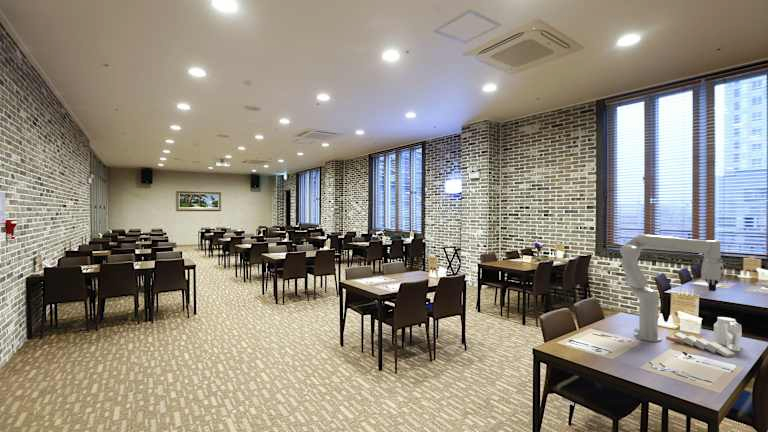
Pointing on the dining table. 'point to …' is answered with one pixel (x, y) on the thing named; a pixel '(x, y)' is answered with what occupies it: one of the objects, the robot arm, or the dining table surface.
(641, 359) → the dining table surface
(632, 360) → the dining table surface
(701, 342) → the domino
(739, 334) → the beer glass
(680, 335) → the domino
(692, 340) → the domino
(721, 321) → the jar
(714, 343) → the domino
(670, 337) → the domino
